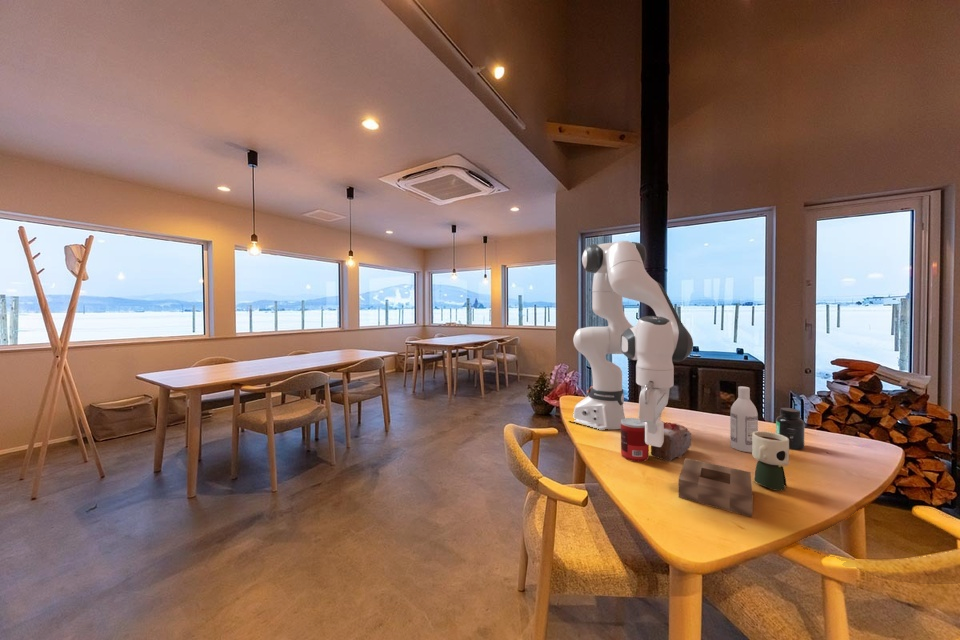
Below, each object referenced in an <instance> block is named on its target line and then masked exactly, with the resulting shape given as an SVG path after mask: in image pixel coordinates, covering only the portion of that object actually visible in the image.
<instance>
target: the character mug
mask: <svg viewBox="0 0 960 640" xmlns="http://www.w3.org/2000/svg"><path fill="white" fill-rule="evenodd" d="M789 453H790V449H789V439H788V438H787V437H785V436H783V435H780V434H777V433H776V432H770V431H764V430H760V431H759V430H758V431H756V432H753V433H752V453H751V454H752V457H753V458H754V459H755V460H757V462H756V465H755V471H754V479H753V480H754V482H755V483H757V484H758V485H761V486H762V487H765V488H767V489H770V490H774V491H785V490H786V489H788V487H787V480H786V479H787V478H786V474H785V469H784V467H783V466H788V465H789V463H790V457H789V455H790V454H789Z"/></svg>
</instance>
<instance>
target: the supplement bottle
mask: <svg viewBox="0 0 960 640" xmlns="http://www.w3.org/2000/svg"><path fill="white" fill-rule="evenodd" d="M775 433H777V434H780V435H783V436H785V437H787V438H788V439H789V450H792V451H793V450H794V451H800V450H804V449H805V421H804V420H803V419H802V418H801V410H799V409H796V408H790V407H780V410H779V415H778V416H777V417H776V419H775Z"/></svg>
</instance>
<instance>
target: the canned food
mask: <svg viewBox="0 0 960 640" xmlns="http://www.w3.org/2000/svg"><path fill="white" fill-rule="evenodd" d="M649 446H650V445H647V444H646V443H645V422H642V421H640V420H639V417H638V418H637V417H625V419H622V420H621V429H620V452H621V456H622V457H623V458H624V459H625V460H628V461H631V462H636V463H637V462H645V461H647V460H649V457H650V456H649V455H650V454H649V449H650V448H649Z"/></svg>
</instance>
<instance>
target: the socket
mask: <svg viewBox="0 0 960 640" xmlns="http://www.w3.org/2000/svg"><path fill="white" fill-rule="evenodd" d="M751 473H752V472H750V471H747V470H742V469H737V468H734V467H728V466H723V465H721V464H720V465H719V464H715V463H710V462H706V461H705V462H704V461H700V460H696V459H692V458H686V457H685V458H684V461H683V465H682V468H681V471H680V473H679V476H678V498H680V499H684V500H688V501H692V502H694V503H695V502H696V503H699V504H702V505H706V506H709V507H713V508H717V509H721V510H723V511H727V512H731V513H734V514H737V515H741V516H745V517H750V518H752V519H753V518H754V517H753V511H754V510H753V509H754V508H753V505H754V503H753V501H754V500H753V499H754V498H753V485H752V474H751Z"/></svg>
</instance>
